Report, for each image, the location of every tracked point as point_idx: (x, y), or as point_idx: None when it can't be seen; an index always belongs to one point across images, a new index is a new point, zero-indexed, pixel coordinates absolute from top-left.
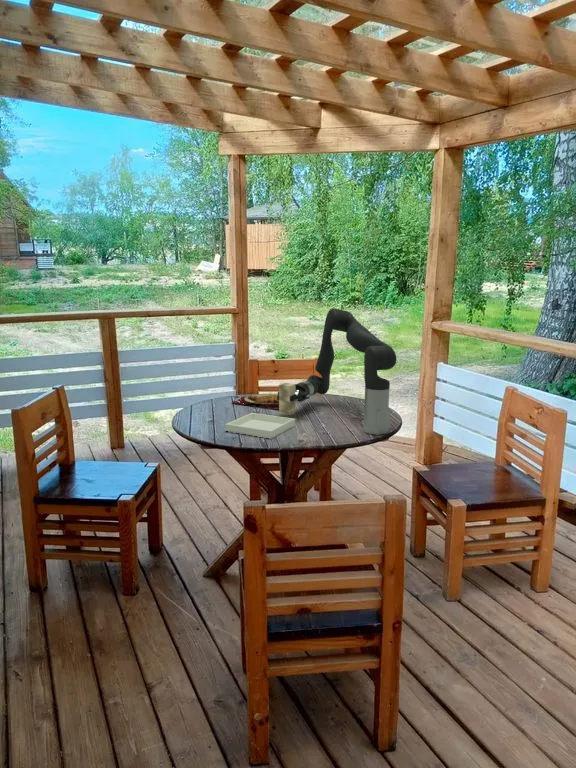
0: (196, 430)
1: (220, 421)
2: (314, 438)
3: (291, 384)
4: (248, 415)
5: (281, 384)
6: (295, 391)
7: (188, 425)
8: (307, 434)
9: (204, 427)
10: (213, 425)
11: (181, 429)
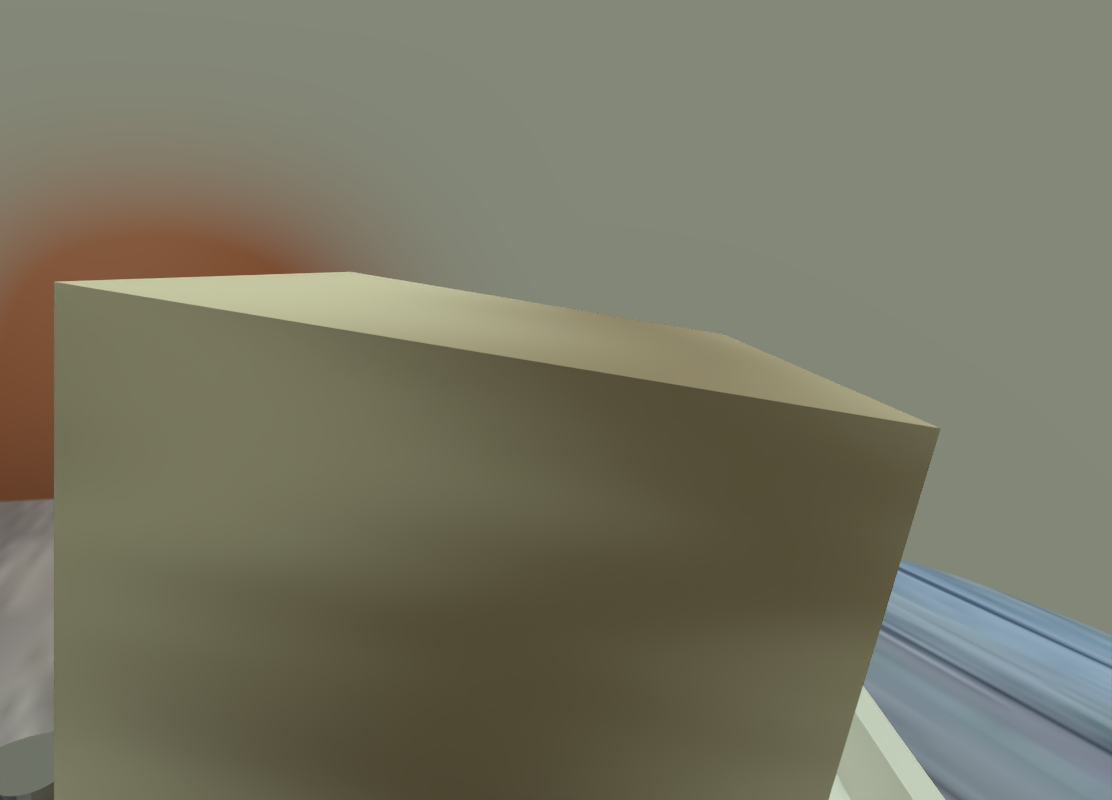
0: (899, 583)
1: (1087, 775)
2: (2, 571)
3: (338, 293)
4: (874, 742)
5: (712, 339)
6: (56, 766)
7: (1062, 639)
8: (45, 633)
9: (941, 626)
10: (961, 669)
11: (975, 584)
